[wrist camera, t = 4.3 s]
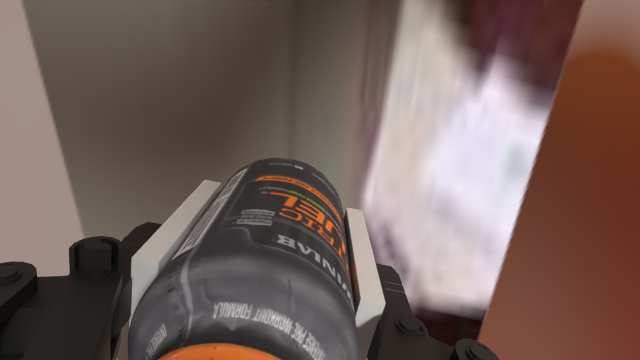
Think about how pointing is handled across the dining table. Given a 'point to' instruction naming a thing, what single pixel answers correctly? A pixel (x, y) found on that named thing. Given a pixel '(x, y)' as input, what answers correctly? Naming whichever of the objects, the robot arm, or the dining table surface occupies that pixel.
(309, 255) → the pill bottle
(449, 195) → the dining table surface
